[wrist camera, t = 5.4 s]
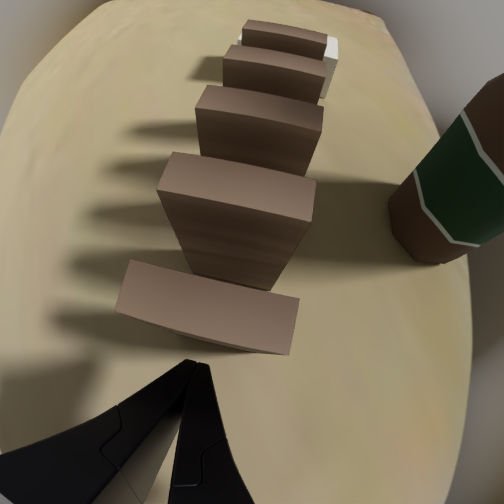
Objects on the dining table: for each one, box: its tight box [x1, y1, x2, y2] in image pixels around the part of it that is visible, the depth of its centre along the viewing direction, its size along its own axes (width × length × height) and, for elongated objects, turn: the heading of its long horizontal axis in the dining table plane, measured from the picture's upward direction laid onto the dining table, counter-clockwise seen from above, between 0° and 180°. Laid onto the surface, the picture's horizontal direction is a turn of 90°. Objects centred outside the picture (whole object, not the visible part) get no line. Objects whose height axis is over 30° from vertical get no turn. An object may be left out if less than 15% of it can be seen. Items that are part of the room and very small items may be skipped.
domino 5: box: [241, 20, 327, 61], centre depth 18 cm, size 2×5×10 cm, turn 78°
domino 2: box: [156, 152, 317, 291], centre depth 14 cm, size 2×5×10 cm, turn 78°
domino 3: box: [195, 85, 324, 177], centre depth 15 cm, size 2×5×10 cm, turn 78°
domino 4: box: [223, 45, 326, 105], centre depth 16 cm, size 2×5×10 cm, turn 78°
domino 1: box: [115, 259, 300, 355], centre depth 12 cm, size 2×5×10 cm, turn 78°
